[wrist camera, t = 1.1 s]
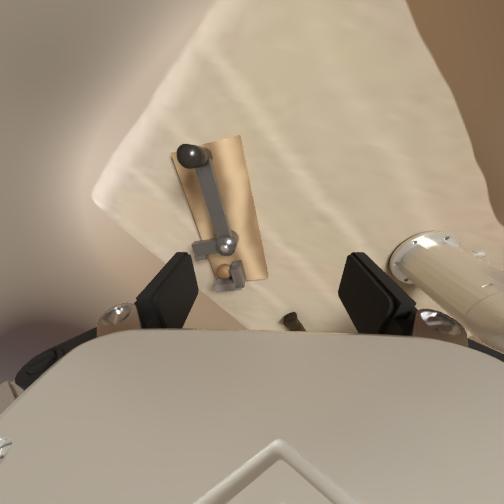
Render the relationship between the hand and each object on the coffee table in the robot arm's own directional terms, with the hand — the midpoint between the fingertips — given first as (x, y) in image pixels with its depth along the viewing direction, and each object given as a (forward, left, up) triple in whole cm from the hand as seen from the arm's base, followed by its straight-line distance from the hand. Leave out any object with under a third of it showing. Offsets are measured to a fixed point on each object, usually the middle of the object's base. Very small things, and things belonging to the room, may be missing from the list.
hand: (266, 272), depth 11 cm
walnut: (+13, +15, -26) cm, 33 cm away
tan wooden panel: (+10, +5, -28) cm, 30 cm away
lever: (+13, 0, -26) cm, 29 cm away
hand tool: (-4, +41, -28) cm, 50 cm away
